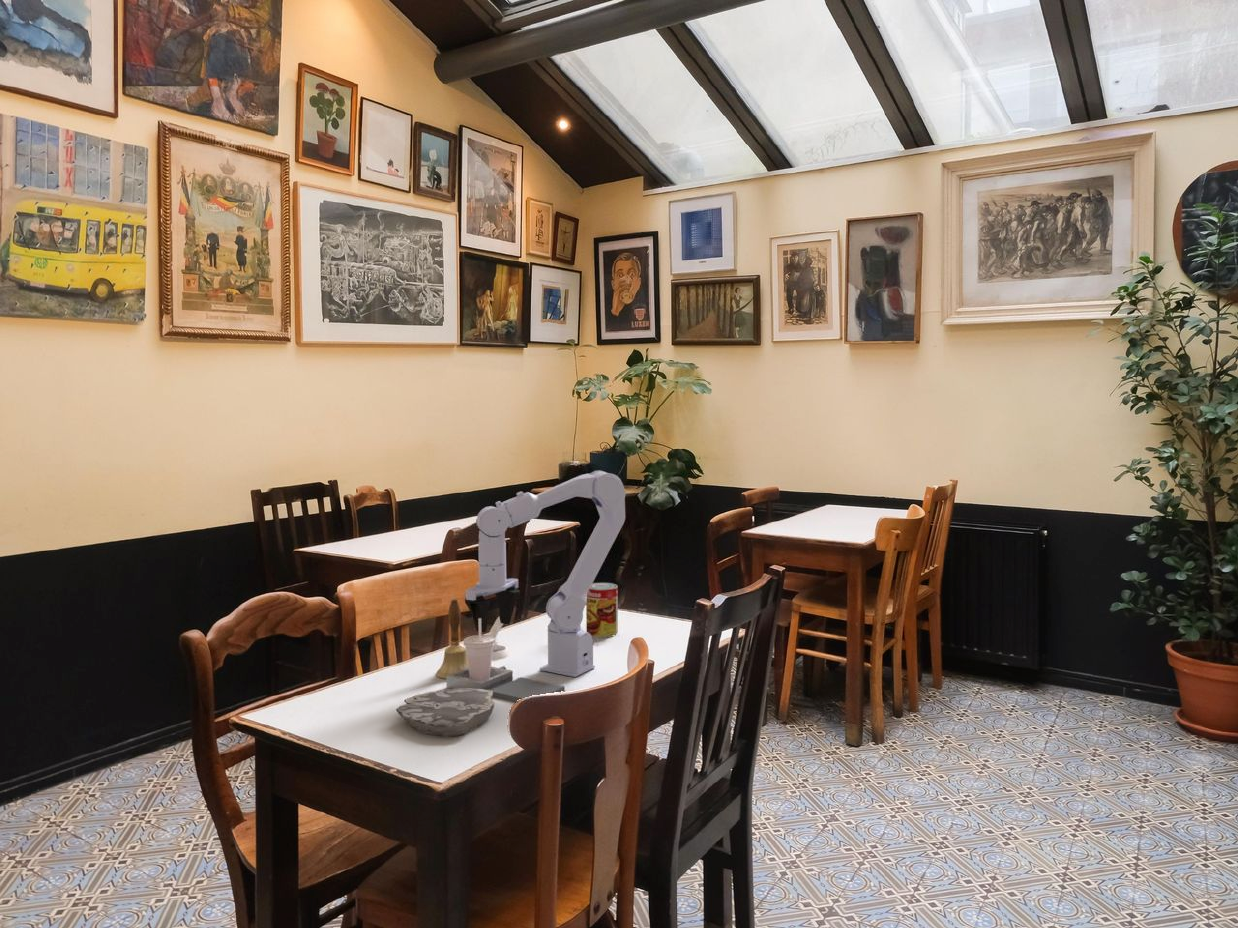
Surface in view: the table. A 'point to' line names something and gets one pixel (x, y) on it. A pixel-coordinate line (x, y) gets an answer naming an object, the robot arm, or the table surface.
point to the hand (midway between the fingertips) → (493, 627)
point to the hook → (501, 649)
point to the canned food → (602, 610)
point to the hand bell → (453, 645)
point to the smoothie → (479, 655)
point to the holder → (463, 681)
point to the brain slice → (448, 711)
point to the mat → (525, 689)
